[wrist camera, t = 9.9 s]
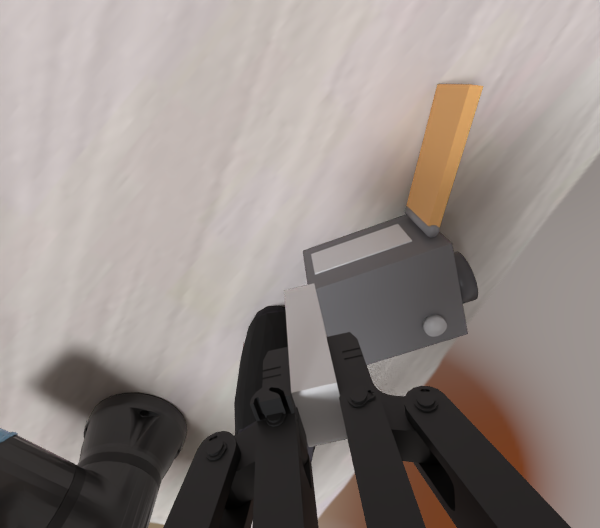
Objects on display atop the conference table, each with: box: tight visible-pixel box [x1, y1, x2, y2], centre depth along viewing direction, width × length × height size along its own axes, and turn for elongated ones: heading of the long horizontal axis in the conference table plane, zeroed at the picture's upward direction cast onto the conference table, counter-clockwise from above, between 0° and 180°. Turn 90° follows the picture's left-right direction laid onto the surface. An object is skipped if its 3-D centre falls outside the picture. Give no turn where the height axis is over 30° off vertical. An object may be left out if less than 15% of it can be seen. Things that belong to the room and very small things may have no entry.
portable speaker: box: [235, 306, 315, 461], centre depth 42 cm, size 9×9×20 cm
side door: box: [404, 84, 483, 238], centre depth 37 cm, size 14×2×7 cm, turn 173°
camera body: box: [303, 215, 478, 365], centre depth 43 cm, size 18×12×11 cm
